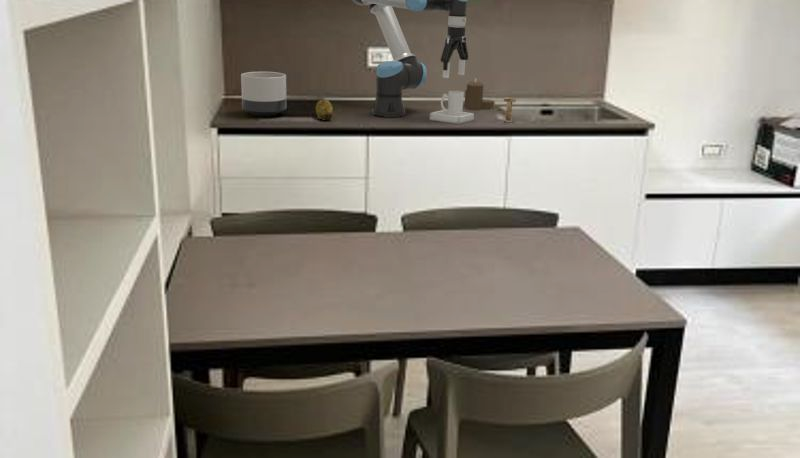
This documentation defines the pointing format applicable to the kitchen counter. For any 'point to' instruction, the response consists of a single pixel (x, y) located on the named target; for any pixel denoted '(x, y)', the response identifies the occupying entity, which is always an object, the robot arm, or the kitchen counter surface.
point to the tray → (451, 117)
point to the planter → (263, 92)
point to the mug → (453, 103)
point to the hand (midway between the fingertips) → (453, 76)
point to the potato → (324, 109)
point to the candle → (476, 97)
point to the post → (509, 108)
